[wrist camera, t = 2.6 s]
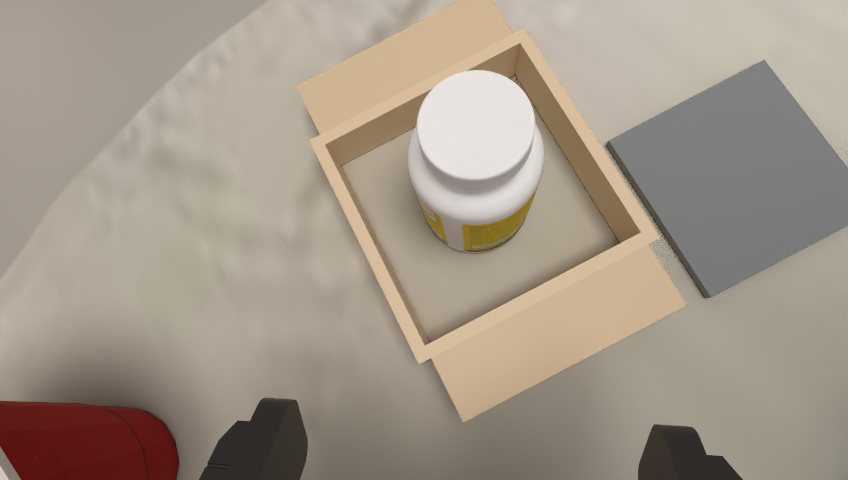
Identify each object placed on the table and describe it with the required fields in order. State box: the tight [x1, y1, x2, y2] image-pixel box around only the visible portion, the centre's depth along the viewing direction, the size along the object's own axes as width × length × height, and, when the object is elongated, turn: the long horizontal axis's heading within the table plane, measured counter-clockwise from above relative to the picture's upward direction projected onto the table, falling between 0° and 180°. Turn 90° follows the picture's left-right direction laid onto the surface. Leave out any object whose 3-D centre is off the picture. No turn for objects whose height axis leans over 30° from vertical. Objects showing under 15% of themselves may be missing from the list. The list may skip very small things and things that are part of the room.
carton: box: [296, 0, 687, 422], centre depth 24 cm, size 12×18×3 cm, turn 27°
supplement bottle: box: [407, 70, 544, 253], centre depth 21 cm, size 5×5×10 cm
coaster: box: [606, 60, 848, 298], centre depth 24 cm, size 9×9×1 cm
